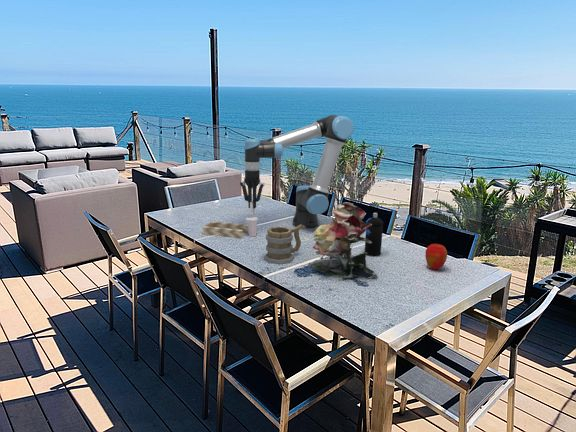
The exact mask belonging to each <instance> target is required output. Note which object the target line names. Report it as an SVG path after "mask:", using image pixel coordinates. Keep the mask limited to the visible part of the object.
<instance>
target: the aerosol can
mask: <svg viewBox="0 0 576 432" xmlns="http://www.w3.org/2000/svg"><path fill="white" fill-rule="evenodd" d="M365 223H371V224H372V225H371V226H369V227H368V228H367V229H366V231H365V236H364V238H367V239H368V240H370V241H371V242H372V243H367V242H365V241H364V251H363V253H365V252H366V253H367V254H366V256H368V257H380V256H381V255H382V241H383V240H382V239H383V228H384V221H383V220H382V219H381V218H379V217H378V212H373V213H372V217H369V218H368V219H367V220H365ZM367 232H371V233H367Z"/></svg>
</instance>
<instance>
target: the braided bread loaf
mask: <svg viewBox="0 0 576 432" xmlns="http://www.w3.org/2000/svg"><path fill="white" fill-rule="evenodd" d="M244 234H249V232H248V227H247V224H244V223H243V224H242V223H233V222H232V223H231V222H221V221H214V220H213V221H211V222H209V223H207V224H206V225H204V226H202V235H206V236H215V237H224V238H226V237H227V238H234V239H243V237H244Z"/></svg>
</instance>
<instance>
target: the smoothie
mask: <svg viewBox="0 0 576 432" xmlns="http://www.w3.org/2000/svg"><path fill="white" fill-rule="evenodd" d="M258 219H259V218H258V217H257V216H252V215H250V214H249V216H247V217H246V218H245V221H246V225H247V227H248V232H249V233H248V236H249V237H251V238H253V237H256V236H257V228H258Z"/></svg>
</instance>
